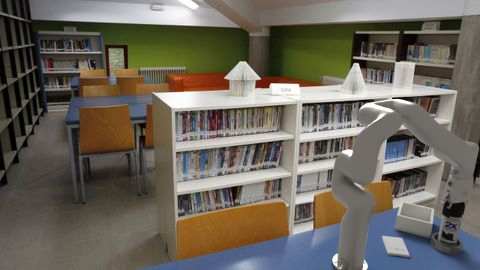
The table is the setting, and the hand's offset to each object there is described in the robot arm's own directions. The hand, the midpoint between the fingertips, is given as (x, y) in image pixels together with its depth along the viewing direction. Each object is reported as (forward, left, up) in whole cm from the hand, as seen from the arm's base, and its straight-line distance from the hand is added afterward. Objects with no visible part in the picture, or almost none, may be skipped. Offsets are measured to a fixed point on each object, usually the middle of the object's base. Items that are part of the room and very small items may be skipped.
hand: (452, 214), depth 141 cm
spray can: (0, 0, -15) cm, 15 cm away
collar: (0, 0, -15) cm, 15 cm away
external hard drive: (-12, +18, -15) cm, 26 cm away
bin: (+11, +13, -15) cm, 22 cm away
